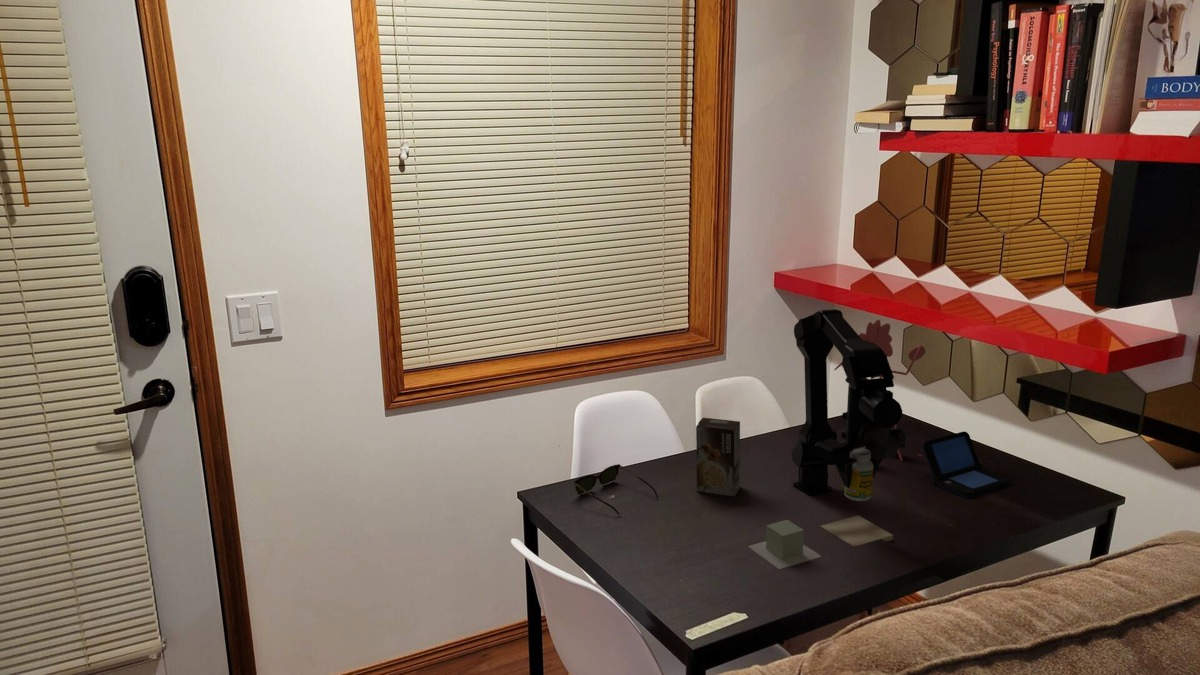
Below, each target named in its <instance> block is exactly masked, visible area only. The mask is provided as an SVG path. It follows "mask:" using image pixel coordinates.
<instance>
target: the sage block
mask: <svg viewBox="0 0 1200 675" xmlns="http://www.w3.org/2000/svg"><path fill="white" fill-rule="evenodd" d="M765 530H766V531H765V541H766V549H767V550H768V551H770V552H771V553H773V554H774V555H775V556H777V557H778V558H780V559H781V560H784V559H787V558H790V557H794V556H797V555H800V554H803V544H804V535H805V534H804V533H805V532H804V531H805V530H804V529H803V528H801V527H800V526H798V525H796V524H795V523H793V522H792V521H791V520H788V519H783V520H781V521H777V522H774V523H770V524H767V525H766V526H765Z"/></svg>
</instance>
